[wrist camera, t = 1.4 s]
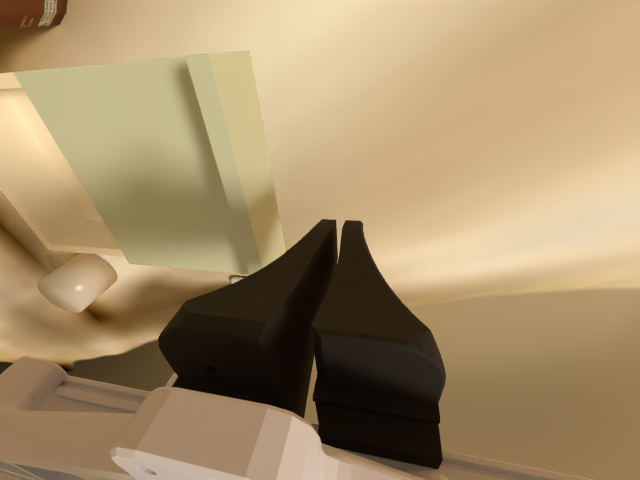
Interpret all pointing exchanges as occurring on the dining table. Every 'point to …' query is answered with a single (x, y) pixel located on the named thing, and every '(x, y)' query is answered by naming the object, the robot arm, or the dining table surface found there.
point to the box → (45, 180)
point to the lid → (169, 157)
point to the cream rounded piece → (78, 282)
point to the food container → (31, 13)
